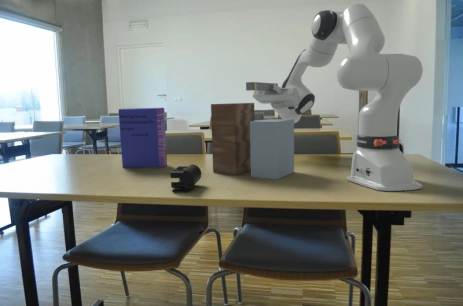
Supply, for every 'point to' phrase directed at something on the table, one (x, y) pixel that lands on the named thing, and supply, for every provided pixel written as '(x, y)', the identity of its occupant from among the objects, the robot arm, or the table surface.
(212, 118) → the tall walnut stand
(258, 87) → the grey yellow-banded bar
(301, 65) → the robot arm
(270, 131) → the blue-grey rectangular block
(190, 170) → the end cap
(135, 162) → the blue book
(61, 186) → the table surface
